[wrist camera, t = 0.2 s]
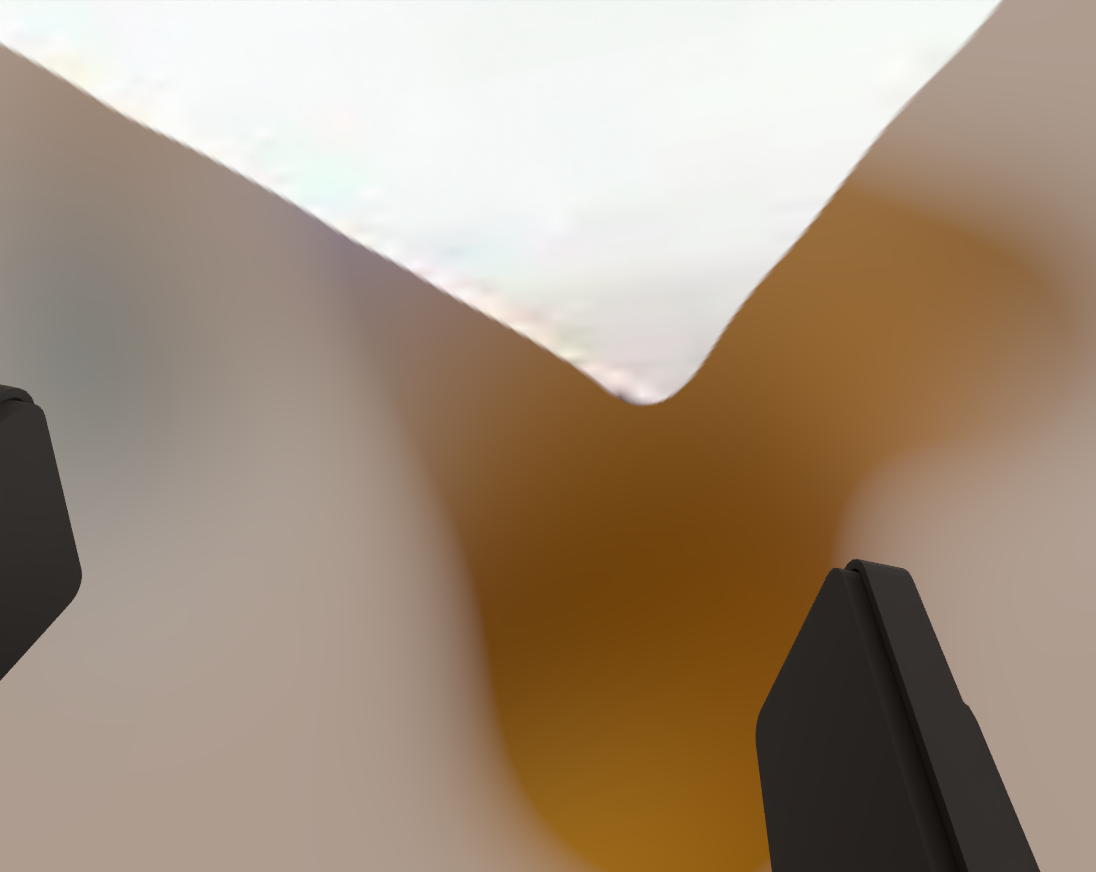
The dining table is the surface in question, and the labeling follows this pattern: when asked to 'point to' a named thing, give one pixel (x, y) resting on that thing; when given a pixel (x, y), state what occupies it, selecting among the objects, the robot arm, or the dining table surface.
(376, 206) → the dining table surface
